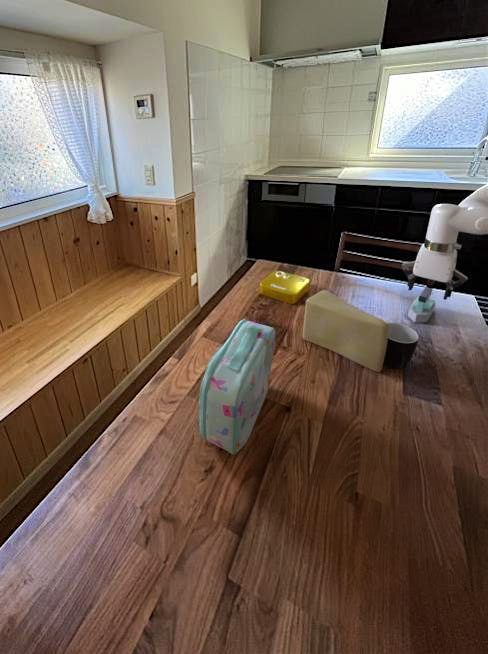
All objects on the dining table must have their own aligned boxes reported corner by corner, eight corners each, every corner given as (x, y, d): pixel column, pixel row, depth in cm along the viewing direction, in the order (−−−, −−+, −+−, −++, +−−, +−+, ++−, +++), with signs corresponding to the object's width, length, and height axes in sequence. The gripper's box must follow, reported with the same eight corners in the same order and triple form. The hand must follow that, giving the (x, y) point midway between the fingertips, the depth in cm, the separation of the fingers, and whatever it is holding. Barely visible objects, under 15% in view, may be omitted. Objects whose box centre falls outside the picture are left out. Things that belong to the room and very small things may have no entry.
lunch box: (238, 368, 95) (239, 303, 86) (274, 379, 90) (279, 313, 81) (195, 447, 74) (190, 373, 65) (239, 467, 69) (241, 390, 60)
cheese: (389, 364, 93) (400, 319, 87) (370, 380, 88) (381, 334, 82) (319, 327, 110) (324, 287, 104) (300, 339, 105) (304, 298, 99)
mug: (370, 349, 99) (376, 320, 95) (404, 352, 97) (411, 323, 93) (381, 379, 88) (388, 348, 84) (419, 383, 86) (429, 352, 82)
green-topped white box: (414, 305, 118) (420, 284, 114) (433, 310, 114) (439, 289, 111) (404, 319, 111) (410, 297, 107) (424, 326, 107) (431, 303, 104)
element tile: (257, 293, 131) (257, 282, 129) (275, 278, 141) (275, 268, 139) (294, 305, 122) (295, 294, 120) (310, 288, 132) (311, 277, 130)
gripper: (477, 247, 99) (463, 297, 106) (410, 235, 111) (401, 281, 118) (472, 255, 94) (458, 307, 101) (403, 242, 106) (394, 289, 113)
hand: (427, 293), depth 109 cm, fingers open, 9 cm apart
